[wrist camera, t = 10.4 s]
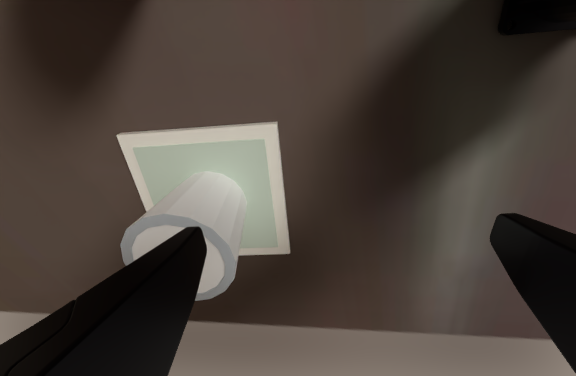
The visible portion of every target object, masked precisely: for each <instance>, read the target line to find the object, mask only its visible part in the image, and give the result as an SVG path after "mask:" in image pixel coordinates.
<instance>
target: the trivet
mask: <svg viewBox="0 0 576 376" xmlns="http://www.w3.org/2000/svg"><path fill="white" fill-rule="evenodd" d="M116 136H117V138H118V141H119V143H120V146H121V149H122V151H123V154H124V156H125V159H126V161H127V164H128V166H129V169H130V171H131V174H132V176H133V179H134V181H135V184H136V186H137V189H138V192H139V194H140V197H141V199H142V202H143V204H144V207H145V209H146V212H148V211H149V210H150V209H151V208H152V207H154V206H155V205H156V204H157V203H158V202H159V201H161V200H162V199H163V198H164V197H165V196H167V195H168V194H169V193H170V192H171V191H173V190H174V189H175V188H176V187H177V186H179V185H180V184H181V183H182V182H183V181H185V180H186V179H187V178H189V177H190V176H191V175H193V174H195V173H200V172H205V171H210V172H216V173H221V174H223V175H225V176H227V177H229V178H230V179H232V180H234V181H235V182H236V183H237V185H238V186H239V187H240V188H241V189H242V190H243V192H244V195H245V198H246V201H247V206H246V215H245V220H244V226H243V232H242V238H241V244H240V250H239V255H268V254H290V240H289V230H288V220H287V211H286V201H285V191H284V181H283V171H282V161H281V151H280V142H279V132H278V122H265V123H251V124H237V125H224V126H210V127H196V128H182V129H168V130H154V131H141V132H127V133H120V134H118V135H116Z"/></svg>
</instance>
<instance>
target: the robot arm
mask: <svg viewBox="0 0 576 376" xmlns="http://www.w3.org/2000/svg"><path fill="white" fill-rule="evenodd" d="M510 21H511V22H512V26H511V28H510V29H509V30H508V29H507V25H508V23H509V22H510ZM568 29H576V0H505V1H504V5H503V9H502V13H501V17H500V21H499V25H498V31H499V33H500V34H501V35H514V34H525V33H535V32H546V31H557V30H568ZM490 242H491V245H492V247H493V248H494V250H495V252H496V254H497V256H498V257H499V259H500V261H501V263H502V264H503V266H504V268H505V270H506V271H507V273H508V275H509V277H510V279H511V280H512V282H513V284H514V285H515V287H516V289H517V290H518V292H519V293H520V295H521V296H522V298H523V299H524V301H525V302H526V304H527V305H528V306H529V308H530V309H531V311H532V312H533V314H534V315H535V316H536V318H537V319H538V321H539V322H540V323H541V325H542V326H543V328H544V329H545V331H546V332H547V333H548V335H549V336H550V338H551V339H552V341H553V342H554V343H555V345H556V346H557V348H558V349H559V350H560V352H561V353H562V355H563V356H564V358H565V359H566V360H567V362H568V363H569V365H570V366H571V368H572V369H573V370H574V372H575V373H576V234H573V233H571V232H568V231H565V230H562V229H559V228H557V227H554V226H551V225H548V224H545V223H542V222H540V221H537V220H534V219H531V218H528V217H525V216H523V215H520V214H517V213H505V214H499V215H498V216H497V217H496V220H495V223H494V226H493V229H492V232H491V234H490ZM206 255H207V245H206V242H205V239H204V235H203V232H202V229H201V228H200V227H199V226H193V227H186V228H184V229H183V230H181V231H180V232H178V233H177V234H175V235H174V236H172V237H170V238H169V239H167V240H166V241H164V242H163V243H161V244H160V245H158V246H156V247H155V248H153V249H152V250H150V251H149V252H147V253H146V254H144V255H142V256H141V257H139V258H138V259H136V260H135V261H133V262H132V263H130V264H128V265H127V266H125V267H124V268H122V269H121V270H119V271H118V272H116V273H114V274H113V275H111V276H110V277H108V278H107V279H105V280H104V281H102V282H100V283H99V284H97V285H96V286H94V287H93V288H91V289H90V290H88V291H87V292H85V293H83V294H82V295H80V296H79V297H77V299H76V300H72V301H71V302H69V303H68V304H66V305H65V306H63V307H62V308H60V309H59V310H57V311H55V312H54V313H52V314H51V315H49V316H47V317H46V318H44V319H43V320H41V321H39V322H38V323H36V324H35V325H33V326H31V327H30V328H28V329H26V330H25V331H23V332H21V333H20V334H18V335H16V336H14V337H13V338H11V339H9V340H8V341H6V342H4V343H3V344H1V345H0V376H168V373H169V370H170V368H171V365H172V362H173V360H174V357H175V354H176V351H177V349H178V346H179V343H180V340H181V337H182V335H183V332H184V329H185V327H186V324H187V321H188V318H189V316H190V313H191V310H192V307H193V305H194V302H195V299H196V295H197V292H198V288H199V284H200V279H201V275H202V271H203V267H204V263H205V259H206Z"/></svg>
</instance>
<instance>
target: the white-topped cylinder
mask: <svg viewBox="0 0 576 376" xmlns="http://www.w3.org/2000/svg"><path fill="white" fill-rule="evenodd" d="M246 206H247V201H246V198H245V195H244V192H243V190H242V189H241V188H240V187H239V186H238V185H237V183H236V182H235V181H234V180H232V179H230V178H229V177H227V176H225V175H223V174H221V173H216V172H210V171H205V172H200V173H195V174H193V175H191V176H190V177H189V178H187V179H186V180H185V181H183V182H182V183H181V184H180V185H179V186H177V187H176V188H175V189H174V190H173V191H171V192H170V193H169V194H168V195H167V196H165V197H164V198H163V199H162V200H161V201H159V202H158V203H157V204H156V205H155V206H154V207H152V208H151V209H150V210H149V211H148V212H146V213H145V214H144V215H143V216H142V217H140V218H139V219H138V220H137V221H136V222H134V223H133V224H132V225H131V226H130V227H128V228H127V229H126V232H125V234H124V237H123V239H122V242H121V244H120V246H121V251H122V257H123V262H124V263H125V265H126V266H127V265H128V264H130V263H132V262H133V261H135V260H136V259H138V258H139V257H141V256H142V255H144V254H146V253H147V252H149V251H150V250H152V249H153V248H155V247H156V246H158V245H160V244H161V243H163V242H164V241H166V240H167V239H169V238H170V237H172V236H174V235H175V234H177V233H178V232H180V231H181V230H183V229H184V228H186V227H193V226H199V227H200V228H201V229H202V232H203V235H204V239H205V242H206V245H207V255H206V259H205V263H204V267H203V271H202V275H201V279H200V284H199V288H198V292H197V295H196V299H195V301H198V300H206V299H211V298H213V297H215V296H217V295H219V294H221V293H223V292H225V291H226V289H227V288H228V287H229V285H230V284H231V283H232V281H233V280H234V279H235V273H236V267H237V262H238V256H239V250H240V244H241V238H242V232H243V226H244V220H245V215H246Z"/></svg>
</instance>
